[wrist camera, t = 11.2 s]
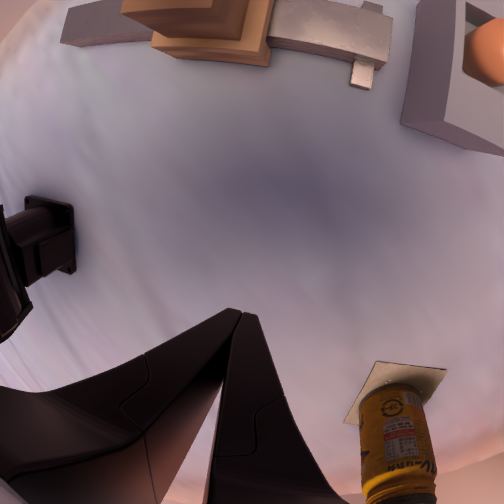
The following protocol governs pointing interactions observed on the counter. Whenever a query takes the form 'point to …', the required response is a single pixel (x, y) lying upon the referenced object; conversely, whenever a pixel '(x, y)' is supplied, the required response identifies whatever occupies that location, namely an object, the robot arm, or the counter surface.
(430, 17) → the grey peg holder
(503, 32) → the brown rounded piece
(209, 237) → the counter surface
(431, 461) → the condiment
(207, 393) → the robot arm
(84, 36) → the rail
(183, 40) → the carriage
